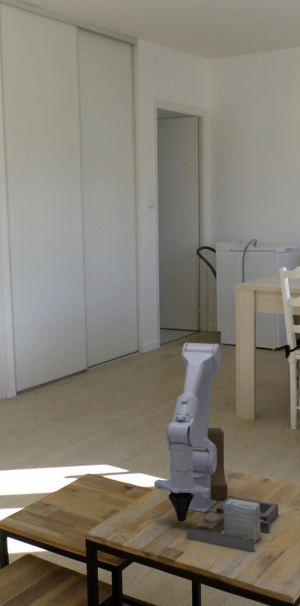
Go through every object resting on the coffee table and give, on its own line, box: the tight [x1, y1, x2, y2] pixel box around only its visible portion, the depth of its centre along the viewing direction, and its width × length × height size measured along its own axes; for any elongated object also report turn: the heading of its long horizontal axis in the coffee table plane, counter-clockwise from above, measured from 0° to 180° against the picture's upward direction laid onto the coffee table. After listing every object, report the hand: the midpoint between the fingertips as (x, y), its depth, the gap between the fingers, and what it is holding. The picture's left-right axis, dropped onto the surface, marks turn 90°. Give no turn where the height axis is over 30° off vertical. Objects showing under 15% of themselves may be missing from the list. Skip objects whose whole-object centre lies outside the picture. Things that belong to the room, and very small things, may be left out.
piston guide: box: [185, 510, 271, 553], centre depth 183 cm, size 17×13×3 cm
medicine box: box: [223, 499, 261, 544], centre depth 181 cm, size 8×4×9 cm, turn 63°
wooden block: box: [205, 427, 228, 501], centre depth 208 cm, size 9×4×18 cm, turn 6°
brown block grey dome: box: [196, 512, 224, 533], centre depth 185 cm, size 4×9×4 cm, turn 152°
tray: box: [215, 495, 279, 525], centre depth 194 cm, size 13×9×3 cm
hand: (182, 520), depth 189 cm, fingers closed
